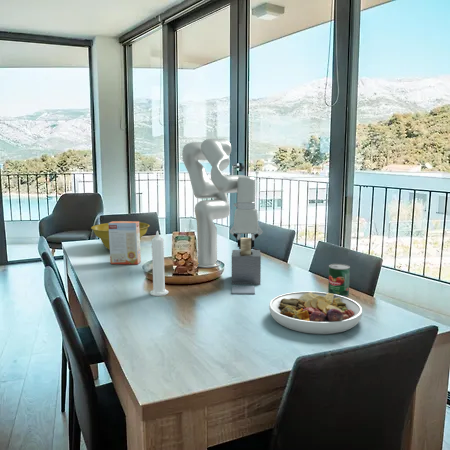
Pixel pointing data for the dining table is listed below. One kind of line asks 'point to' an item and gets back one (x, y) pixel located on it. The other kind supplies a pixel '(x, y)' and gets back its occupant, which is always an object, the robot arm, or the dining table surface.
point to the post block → (246, 267)
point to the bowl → (315, 312)
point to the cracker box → (124, 242)
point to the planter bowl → (103, 232)
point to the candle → (158, 266)
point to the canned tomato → (339, 279)
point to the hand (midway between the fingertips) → (245, 248)
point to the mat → (243, 289)
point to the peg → (245, 246)
